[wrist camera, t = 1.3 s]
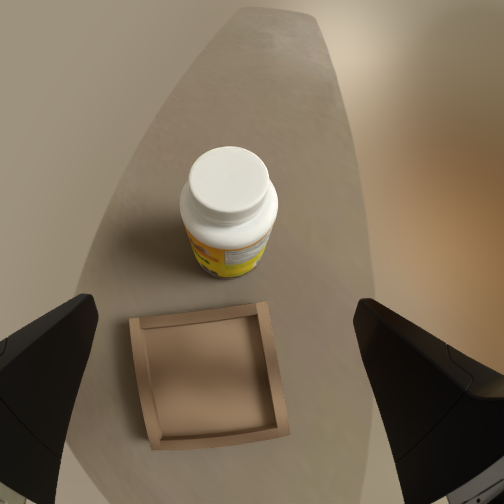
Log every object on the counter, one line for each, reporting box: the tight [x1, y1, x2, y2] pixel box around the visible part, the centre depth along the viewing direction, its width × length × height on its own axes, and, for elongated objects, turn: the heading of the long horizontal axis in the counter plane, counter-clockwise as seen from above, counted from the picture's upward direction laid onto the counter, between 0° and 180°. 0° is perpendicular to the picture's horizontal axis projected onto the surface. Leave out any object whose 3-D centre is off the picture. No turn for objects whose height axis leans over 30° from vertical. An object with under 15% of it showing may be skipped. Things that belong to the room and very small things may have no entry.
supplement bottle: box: [180, 146, 278, 279], centre depth 18 cm, size 6×6×10 cm
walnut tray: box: [129, 301, 290, 450], centre depth 18 cm, size 10×10×2 cm
